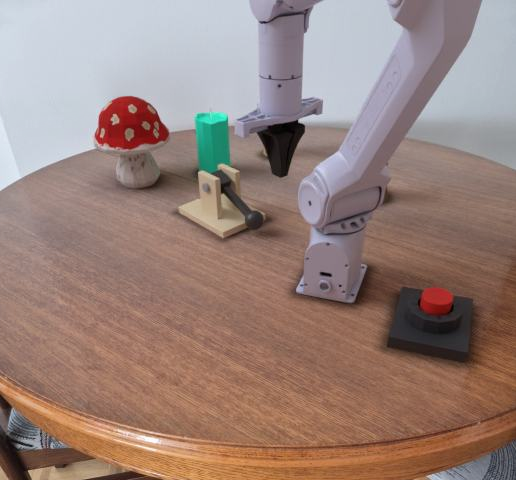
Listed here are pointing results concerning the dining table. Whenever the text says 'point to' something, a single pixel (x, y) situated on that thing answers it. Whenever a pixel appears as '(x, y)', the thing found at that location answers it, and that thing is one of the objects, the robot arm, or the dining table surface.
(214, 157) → the candle
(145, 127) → the decorative mushroom
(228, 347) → the dining table surface
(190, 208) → the lever
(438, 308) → the button
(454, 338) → the control block
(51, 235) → the dining table surface
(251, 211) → the lever
